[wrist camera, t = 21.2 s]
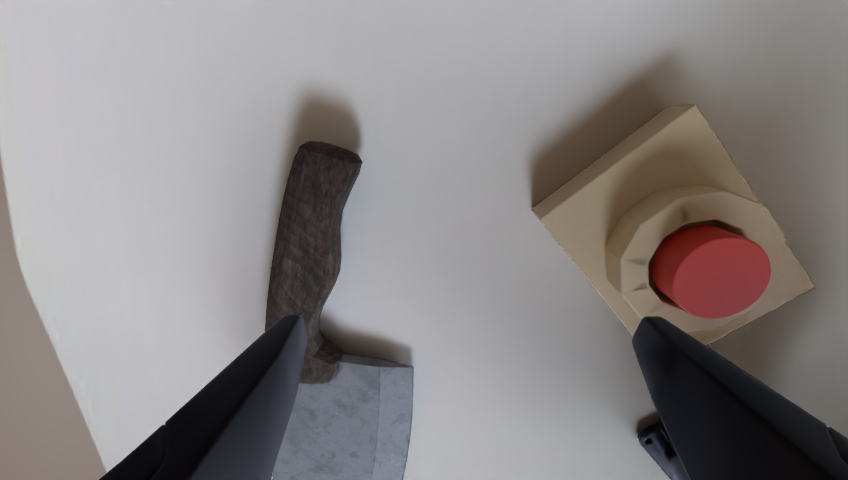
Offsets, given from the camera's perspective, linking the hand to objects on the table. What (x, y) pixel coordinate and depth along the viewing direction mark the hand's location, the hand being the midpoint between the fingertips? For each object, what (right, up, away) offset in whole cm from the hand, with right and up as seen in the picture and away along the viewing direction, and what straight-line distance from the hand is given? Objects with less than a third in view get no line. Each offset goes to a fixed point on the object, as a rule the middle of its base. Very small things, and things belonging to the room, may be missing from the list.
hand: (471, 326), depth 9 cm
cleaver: (-7, -6, +15) cm, 17 cm away
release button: (+11, +1, +6) cm, 13 cm away
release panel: (+11, +2, +10) cm, 15 cm away
